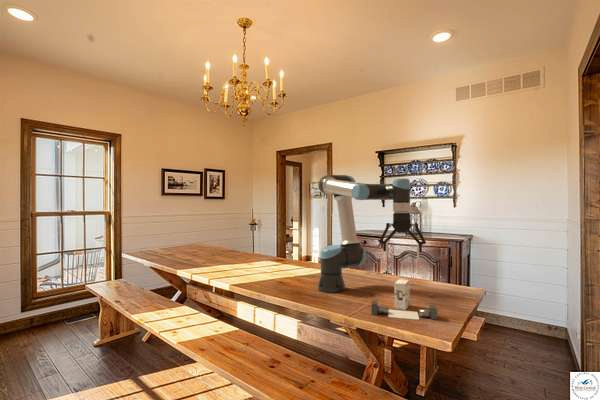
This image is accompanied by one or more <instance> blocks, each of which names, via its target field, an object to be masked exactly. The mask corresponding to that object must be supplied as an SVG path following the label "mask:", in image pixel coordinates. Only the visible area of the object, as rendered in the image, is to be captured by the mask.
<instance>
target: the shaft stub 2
mask: <svg viewBox="0 0 600 400" xmlns="http://www.w3.org/2000/svg"><path fill="white" fill-rule="evenodd" d="M428 306H429V308H428V309H423V308H419V309H418V310H419V311H418V312H419V313H418V316H419V318H420V317H421V318H430V320H431V321H432V320H434V321H438V308H437V305H435V304H429V305H428Z"/></svg>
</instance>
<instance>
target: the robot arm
mask: <svg viewBox="0 0 600 400" xmlns="http://www.w3.org/2000/svg"><path fill="white" fill-rule="evenodd" d="M318 189H319V191H320V192H321V193H322V194H325V195H331V196H332V195H333V199H334V200H335V201H336V205H337V212H338V220H339V226H340V234H341V242H340V244H334V245H332V244H331V245H326V246H323V247H322V248H321V249H320V255H319V256H320V277H319V280H318V282H317V290H318V291H320V292H324V293H333V294H334V293H341V292H344V291H346V283H345V280H344V277H343V269H352V268H357V267H361V266H363V265H364V264H365V262H366V259H367V251H366V249H365V247H364V246H362V245H361V242H360V241H359V240H358V238H357V230H356V222H355V216H354V215H355V214H354V208H353V201H352V199H354V200H358V201H368V200H369V201H371V200H372V201H373V200H374V201H375V200H378V201H379V200H380V201H385V200H387V201H388V200H392V211H393V214H392V222H391V223H390V222H386V224H385V228H384V231H383V233H382V235H381V236H380V238H379V240H378V242H379V243H380V244H381V245H382V249H383V250H382V251H383V252H385V259H386V260H387V259H389V257H388V256H389V255H388V254H389V253H388V251H389V250H388V247H389V246H388V242H389V241H390V240H391V238H393V236H394V235H395V234H396V233H398V234H401V233H403V234H407V233H408V234H409V235H410V237H412V239H413V240H414V241H415V242H416V243H417V244H416V259H417V261H420V253H422V250H423V248H422V247H423V245H426V244H427V241H426V239H425V237H424V236H423V234H422V233H421V231H420V229H419V224H418V223H417V222H415V223H412V222H411V181H410V179H409V178H406V177H405V178H403V177H402V178H394V179H393V180H392V183H361V182H356V180H355V178H354V177H352V176H351V175H347V174H326V175H324V176H322V177H320V179H319V181H318ZM391 227H392V229H393V230H392V231H391V233H390V234H388V236H386V235H387V233H388V231H389V229H391ZM412 227H413V229H415V231H416V232H417V235H418V236H419V238H420V239H418V238H417V236H416V235H415V234H414V233H413V232H412V231H411V228H412ZM385 236H386V238H385ZM384 238H385V239H384ZM420 240H421V241H420Z"/></svg>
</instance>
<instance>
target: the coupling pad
mask: <svg viewBox="0 0 600 400" xmlns="http://www.w3.org/2000/svg"><path fill="white" fill-rule="evenodd" d="M418 312H419V311H413V310H412V311H411V310H400V309H388V318H389V319H390V318H391V319H402V320H413V321H420V315H419V313H418Z"/></svg>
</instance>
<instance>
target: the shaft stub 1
mask: <svg viewBox="0 0 600 400" xmlns="http://www.w3.org/2000/svg"><path fill="white" fill-rule="evenodd" d="M378 304H379V301H378V300H374V299H373V300H371V305H370V306H371V315H375V316H378V314H386V315H387V314H388V306H385V305H378Z"/></svg>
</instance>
